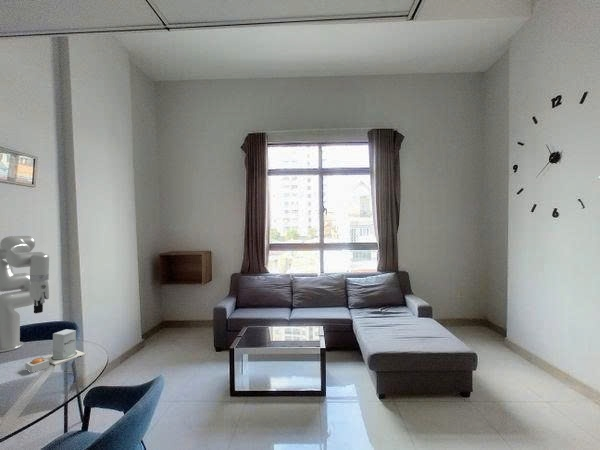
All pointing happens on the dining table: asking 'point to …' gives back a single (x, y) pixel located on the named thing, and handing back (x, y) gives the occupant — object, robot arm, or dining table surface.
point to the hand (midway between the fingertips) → (38, 312)
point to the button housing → (37, 365)
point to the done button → (37, 360)
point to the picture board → (61, 360)
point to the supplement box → (64, 343)
